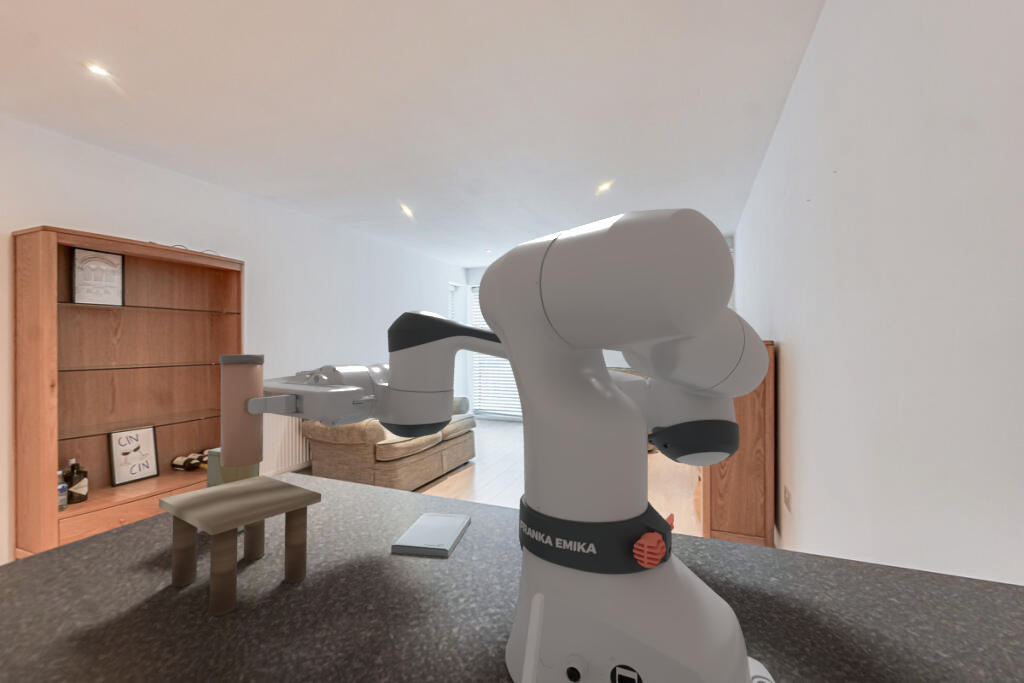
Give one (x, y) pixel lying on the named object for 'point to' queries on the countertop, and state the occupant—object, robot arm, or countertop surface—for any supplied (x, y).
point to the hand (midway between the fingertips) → (235, 404)
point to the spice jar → (241, 410)
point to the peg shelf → (221, 519)
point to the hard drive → (432, 534)
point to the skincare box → (227, 472)
